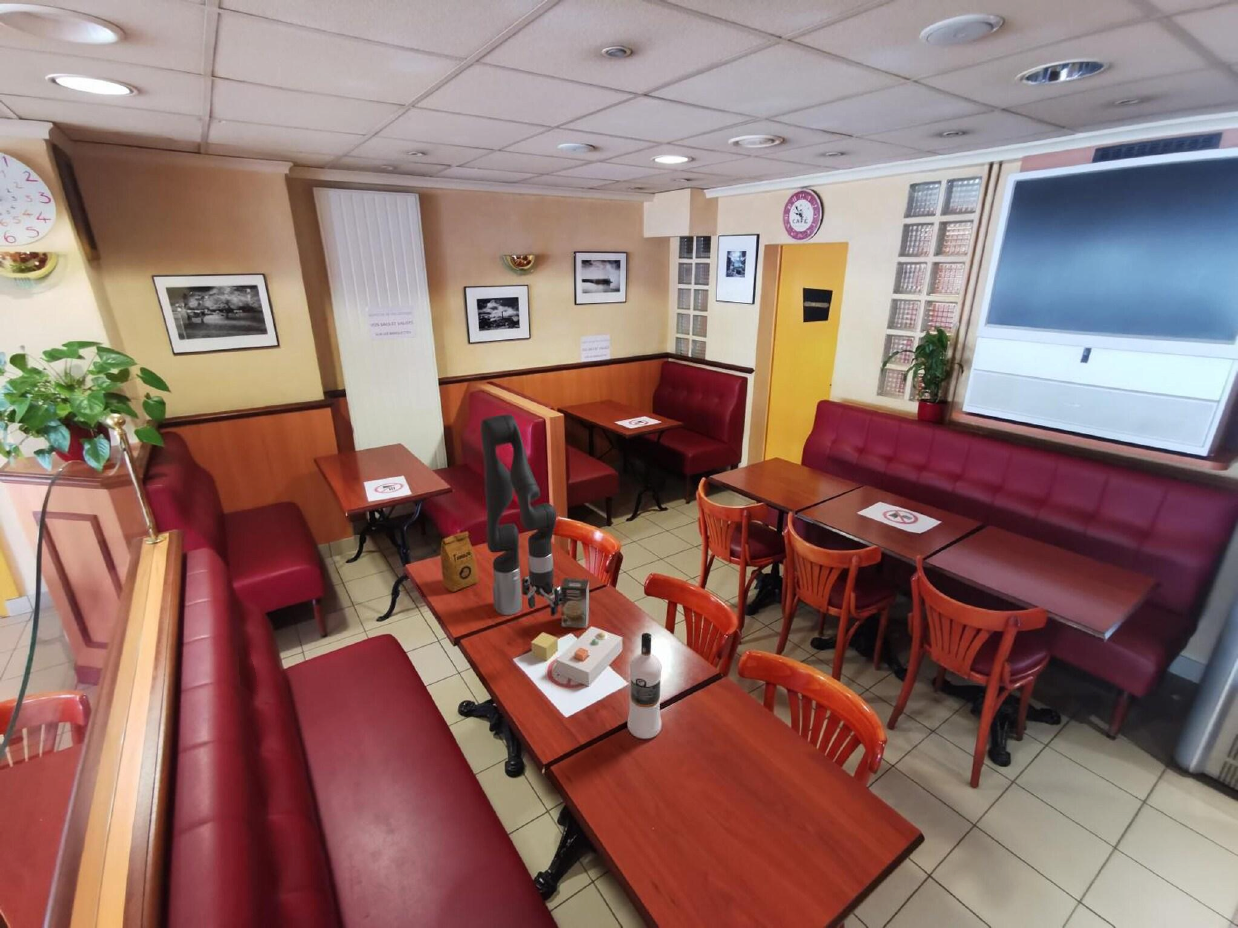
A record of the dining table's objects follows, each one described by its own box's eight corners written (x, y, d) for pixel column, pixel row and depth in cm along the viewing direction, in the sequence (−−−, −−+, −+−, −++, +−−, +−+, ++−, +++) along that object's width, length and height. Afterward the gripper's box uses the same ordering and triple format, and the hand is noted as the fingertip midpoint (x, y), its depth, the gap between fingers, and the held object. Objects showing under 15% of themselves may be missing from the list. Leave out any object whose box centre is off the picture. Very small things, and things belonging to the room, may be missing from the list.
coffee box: (560, 627, 204) (559, 586, 199) (564, 616, 210) (563, 577, 205) (587, 628, 203) (586, 588, 198) (589, 618, 209) (589, 578, 204)
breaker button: (574, 665, 182) (574, 652, 180) (580, 660, 184) (579, 647, 182) (582, 669, 180) (582, 655, 178) (588, 663, 183) (588, 650, 181)
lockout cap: (532, 654, 190) (531, 641, 188) (543, 644, 195) (542, 632, 193) (546, 660, 187) (546, 647, 185) (558, 650, 192) (557, 637, 190)
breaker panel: (556, 672, 181) (555, 655, 179) (591, 638, 198) (591, 622, 196) (589, 686, 176) (588, 668, 174) (622, 650, 192) (622, 633, 190)
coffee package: (481, 584, 230) (477, 534, 223) (451, 595, 223) (446, 543, 216) (470, 574, 238) (465, 525, 230) (440, 584, 230) (435, 534, 223)
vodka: (666, 722, 162) (670, 630, 152) (651, 745, 154) (654, 650, 145) (637, 710, 166) (638, 620, 156) (621, 732, 159) (621, 638, 149)
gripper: (515, 565, 180) (517, 610, 186) (552, 577, 174) (554, 623, 179) (530, 555, 187) (532, 599, 192) (566, 566, 180) (568, 611, 185)
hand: (543, 611), depth 185 cm, fingers open, 8 cm apart
